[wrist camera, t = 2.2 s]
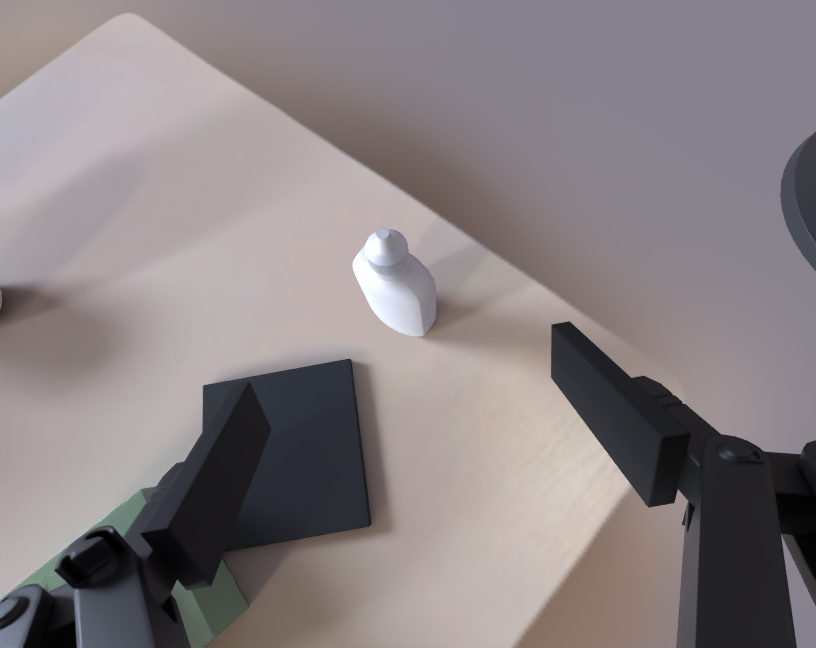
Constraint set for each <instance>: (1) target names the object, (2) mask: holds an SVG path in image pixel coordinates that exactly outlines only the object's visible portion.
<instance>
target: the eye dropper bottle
mask: <svg viewBox="0 0 816 648" xmlns="http://www.w3.org/2000/svg"><path fill="white" fill-rule="evenodd" d="M353 270H354V273H355V275H356V277H357V280H358V282H359V284H360V286H361V288H362V290H363V292H364V294H365V296H366V298H367V300H368V302H369V304H370V306H371V308H372V310H373V311H374V312H375V314H376V315H377V316H378V317H379V318H380V319H381V320H382V321H383V322H384V323H385V324H387V325H388V326H389V327H391V328H393V329H394V330H396V331H398V332H401V333H403V334H407V335H410V336H415V337H421V336H424V335H425V334H427V332H428V331H429V329H430V328H431V326H432V325H433V323H434V322H435V319H436V287H435V282H434V279H433V277H432V275H431V274H430V273H429V271H428V270H427V269H426V267H425V266H424V265H423V264H422V263H421V262H420V261H419V260H418V259H417V258H415V257H414V256H413V255H411V254H410V253H409V251H408V244H407V241H406V239H405V238H404V236H403V235H402V234H401V233H400V232H398V231H396V230H392V229H386V228H379V229H378V230H377V231H376V232H375V233H373V234H372V235H371V236H370V237H369V238H368V240H367V242H366V245H365V246H364V247H363V248H362V250H361V251H360V252H359V253H358V255H357V256H356V258H355V259H354V262H353Z"/></svg>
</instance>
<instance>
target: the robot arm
mask: <svg viewBox="0 0 816 648" xmlns="http://www.w3.org/2000/svg"><path fill="white" fill-rule="evenodd" d="M551 378H552V379H553V381H554V382H555V383H556V385H557V386H558V387H559V389H560V390H561V391H562V393H563V394H564V395H565V397H566V398H567V399H568V401H569V402H570V403H571V405H572V406H573V407H574V409H575V410H576V411H577V413H578V414H579V415H580V417H581V418H582V419H583V421H584V422H585V423H586V425H587V426H588V427H589V429H590V430H591V431H592V433H593V434H594V435H595V437H596V438H597V439H598V441H599V442H600V443H601V445H602V446H603V447H604V449H605V450H606V451H607V453H608V454H609V456H610V457H611V458H612V460H613V461H614V462H615V464H616V465H617V466H618V468H619V469H620V470H621V472H622V473H623V474H624V476H625V477H626V478H627V480H628V481H629V482H630V484H631V485H632V486H633V488H634V489H635V490H636V492H637V493H638V494H639V496H640V497H641V498H642V500H643V501H644V502H645V504H646V505H647V506H648V507H654V506H660V505H665V504H671V503H674V501H675V498H676V494H677V490H678V489H679V490H680V492H681V493H682V494H683V495H684V496H685V497H686V499H687V500H688V504H687V507H686V511H685V515H684V519H683V522H682V525H684V526H685V534H684V548H683V549H684V550H683V562H682V575H681V589H680V603H679V618H678V632H677V645H676V648H797V645H796V639H795V631H794V624H793V617H792V611H791V603H790V596H789V589H788V582H787V575H786V567H785V561H784V553H783V547H782V539H781V535H782V537H783V539H784V541H785V543H786V545H787V547H788V549H789V551H790V553H791V555H792V558H793V560H794V562H795V564H796V566H797V568H798V570H799V572H800V574H801V576H802V578H803V581H804V583H805V585H806V587H807V589H808V591H809V593H810V595H811V597H812V599H813V601H814V604H815V606H816V441H812V442H809V443H807V444H806V445H805V447H804V449H803V450H802V453H801V454H788V453H773V452H764V451H762V450H761V449H760V448H759V447H757V446H756V445H754V444H752V443H750V442H749V441H747V440H744V439H741V438H738V437H735V436H729V435H721V434H720V433H719V432H718V431H717V430H715V429H714V428H713V427H711V425H709V424H708V423H707V422H706V421H705V420H703V419H702V418H701V417H700V416H699V415H697V414H696V413H695V412H694V411H693V410H692V409H690V408H689V407H688V406H687V405H686V404H683V403H682V401H681V400H680V399H678V398H677V397H676V396H675V395H674V396H673V395H672V393H671V392H670V391H669V390H668V389H666V388H665V387H664V386H663V385H662V384H661V383H659V382H656V381H654V380H652V379H650V378H648V377H646V376H640V377H635V378H631V377H630V376H629V375H628V374H626V373H625V372H624V371H623V370H622V369H621V368H620V367H619V366H618V365H617V364H616V363H614V362H613V361H612V360H611V359H610V358H609V357H608V356H607V355H606V354H605V353H603V352H602V351H601V350H600V349H599V348H598V347H597V346H596V345H595V344H594V343H593V342H591V341H590V340H589V339H588V338H587V337H586V336H585V335H584V334H583V333H582V332H581V331H579V330H578V329H577V328H576V327H575V326H574V325H573V324H572V323H571V322H570V321H569V322H564V323H558V324H553V325H552V343H551ZM271 430H272V429H271V427H270V425H269V422H268V420H267V418H266V416H265V414H264V412H263V409H262V407H261V405H260V403H259V401H258V398H257V396H256V394H255V392H254V390H253V387H252V385H251V383H250V381H249V382H244V383H239V384H233V385H232V386H231V388H230V389H229V391H228V392H227V394H226V396H225V397H224V399H223V400H222V402H221V404H220V405H219V407H218V408H217V410H216V412H215V413H214V415H213V416H212V418H211V420H210V421H209V423H208V424H207V426H206V428H205V429H204V431H203V432H202V434H201V436H200V437H199V439H198V440H197V442H196V444H195V445H194V447H193V448H192V450H191V452H190V453H189V455H188V456H187V458H186V460H185V461H184V462H180V463H176V464H175V465H174V466H173V467H172V468H171V469H170V470H169V471H168V472H167V473H166V474H165V475H164V476H163V477H162V479H161V480H160V482H159V483H158V485H157V486H156V488H155V489H154V490H155V491H154V492H152V494H151V495H150V497H149V498H148V500H147V503H146V504H145V505H144V506H143V508H142V509H141V511H140V512H139V514H138V515H137V517H136V518H135V520H134V521H133V523H132V524H131V526H130V527H129V529H128V530H127V532H126V533H125V535H124V536H123V537H122V536H121V535H120V534H119V533H118V531H117V530H116V529H115V528H114V527H113V526H109V525H105V526H101V527H97V528H95V529H93V530H91V531H89V532H87V533H85V534H84V535H82V536H81V537H79V538H78V539H77V540H75V541H74V542H73V543H72V544H71V545H70V546H69V547H68V548H67V549H66V550H65V551H64V552H63V553H62V555H61V556H60V557H59V559H58V560H57V562H56V565H55V568H54V571H55V572H56V573H57V574H58V575H59V576H60V577H61V578H63V579H64V580H65V581H66V582H67V583H66V584H64V585H62V586H60V587H57V588H55V589H53V590H51V591H49V592H47V591H46V590H45V589H44V588H42V587H41V586H40V585H39V584H28V585H25V586H23V587H20V588H18V589H16V590H15V591H13V592H12V593H10V594H8V595H7V596H5V597H4V598H3V599H1V600H0V648H191V646H190V643H189V640H188V636H187V633H186V630H185V627H184V624H183V621H182V618H181V615H180V611H179V608H178V605H177V602H176V599H175V598H174V597H173V595H172V594H171V592H172V589H173V587H174V585H175V583H176V581H177V580H178V581H179V582H180V583H181V585H182V586H183V587H184V588H185V590H186V591H187V590H192V589H198V588H203V587H209V586H212V583H213V580H214V578H215V575H216V573H217V570H218V567H219V565H220V562H221V560H222V557H223V554H224V552H225V549H226V547H227V544H228V541H229V539H230V536H231V534H232V531H233V528H234V526H235V523H236V521H237V518H238V515H239V513H240V510H241V508H242V505H243V503H244V500H245V497H246V495H247V492H248V490H249V487H250V484H251V482H252V479H253V477H254V474H255V471H256V469H257V466H258V464H259V461H260V458H261V456H262V453H263V451H264V448H265V445H266V443H267V440H268V438H269V435H270V432H271Z"/></svg>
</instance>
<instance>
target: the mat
mask: <svg viewBox="0 0 816 648" xmlns="http://www.w3.org/2000/svg"><path fill="white" fill-rule="evenodd" d="M249 381H250V383H251V385H252V387H253V390H254V392H255V394H256V396H257V398H258V401H259V403H260V405H261V407H262V409H263V412H264V414H265V416H266V418H267V420H268V422H269V425H270V427H271V429H272V430H271V432H270V435H269V438H268V440H267V443H266V445H265V448H264V451H263V453H262V456H261V458H260V461H259V464H258V466H257V469H256V471H255V474H254V477H253V479H252V482H251V484H250V487H249V490H248V492H247V495H246V497H245V500H244V503H243V505H242V508H241V510H240V513H239V515H238V518H237V521H236V523H235V526H234V528H233V531H232V534H231V536H230V539H229V541H228V544H227V547H226V549H225V552H226V551H232V550H238V549H243V548H249V547H255V546H261V545H266V544H272V543H278V542H283V541H289V540H295V539H301V538H306V537H312V536H318V535H323V534H329V533H335V532H341V531H346V530H352V529H358V528H363V527H369V526H370V525H371V519H370V511H369V503H368V494H367V486H366V478H365V470H364V461H363V453H362V445H361V436H360V428H359V420H358V412H357V403H356V395H355V387H354V378H353V370H352V362H351V360H350V359H345V360H340V361H334V362H329V363H323V364H318V365H313V366H307V367H302V368H296V369H291V370H285V371H280V372H274V373H269V374H264V375H258V376H253V377H247V378H242V379H236V380H231V381H225V382H220V383H215V384H209V385H204V386H203V431H204V429H205V428H206V426H207V424H208V423H209V421H210V420H211V418H212V416H213V415H214V413H215V412H216V410H217V408H218V407H219V405H220V404H221V402H222V400H223V399H224V397H225V396H226V394H227V392H228V391H229V389H230V388H231V386H232V385H233V384H239V383H244V382H249Z"/></svg>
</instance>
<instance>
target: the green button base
mask: <svg viewBox="0 0 816 648" xmlns="http://www.w3.org/2000/svg"><path fill="white" fill-rule="evenodd" d="M155 488H156V487H150V488H144V489H140V490H139V491H137V492H136V493H135V494H134V495H132V496H131V497H130V498H129V499H127V500H126V501H125V502H123V503H122V504H121V505H120V506H118V507H117V508H116V509H115V510H113V511H112V512H111V513H109V514H108V515H107V516H106V517H104V518H103V519H102V520H101V521H99V522H98V523H97V524H96V525H94V526H93V527H92V528H90V529H89V530H88V531H87V532H89V531H91V530H93V529H95V528H97V527H101V526H105V525H109V526H113V527H114V528H115V529H116V530H117V531H118V533H119V534H120V535H121V536H122V537H123V536H124V535H125V533H126V532H127V530H128V529H129V527H130V526H131V524H132V523H133V521H134V520H135V518H136V517H137V515H138V514H139V512H140V511H141V509H142V508H143V506H144V505H145V504H146V503H147V500H148V498H149V497H150V495H151V494H152V492H154V491H155V490H154V489H155ZM87 532H85V533H87ZM85 533H84V534H85ZM84 534H83V535H84ZM80 537H81V536H80ZM71 544H72V543H71ZM71 544H70V545H71ZM70 545H69V546H70ZM69 546H68V547H69ZM68 547H66V548H65V549H64V550H63V551H61V552H60V553H59V554H57V555H56V556H55V557H54V558H52V559H51V560H50V561H49V562H47V563H46V564H45V565H44V566H42V567H41V568H40V569H38V570H37V571H36V572H35V573H33V574H32V575H31V576H30V577H28V578H27V579H26V580H25V581H23V582H22V583H21V584H19V585H18V586H17V587H16V588H14V589H13V590H12V591H11V592H9V593H8V594H10V593H12V592H13V591H15V590H16V589H18V588H20V587H23V586H25V585H28V584H39V585H40V586H41V587H42V588H44V589H45V590H46V591H47V592H49V591H51V590H53V589H55V588H57V587H60V586H62V585H64V584H66V583H67V582H66V581H65V580H64V579H63V578H61V577H60V576H59V575H58V574H57V573H56V572H55V571H54V568H55V565H56V562H57V560H58V559H59V557H60V556H61V555H62V553H63V552H64V551H65V550H66V549H67V548H68ZM8 594H7V595H8ZM171 594H172V595H173V597H174V598H175V599H176V602H177V605H178V608H179V611H180V615H181V618H182V621H183V624H184V627H185V630H186V633H187V636H188V640H189V643H190V646H191V648H203V647H204V646H206V645H207V644H208V643H209V642H210V641H211V640H212V639H213V638H215V637H216V636H217V635H218V634H219V633H220V632H221V631H222V630H224V629H225V628H226V627H227V626H228V625H229V624H230V623H232V622H233V621H234V620H235V619H236V618H237V617H238V616H239V615H241V614H242V613H243V612H244V611H245V610H246V609H247V608H248V607H249V606H248V604H247V602H246V601H245V599H244V597H243V595H242V593H241V591H240V590H239V588H238V586H237V584H236V582H235V580H234V578H233V577H232V575H231V573H230V571H229V569H228V567H227V566H226V564H225V562H224V560H223V558H222V560H221V562H220V565H219V567H218V570H217V573H216V575H215V578H214V580H213V583H212V586H209V587H203V588H198V589H192V590H187V591H186V590H185V588H184V587H183V586H182V585H181V583H180V582H179V581H178V580H177V581H176V583H175V585H174V587H173V589H172V592H171ZM7 595H5V596H7ZM5 596H4V597H5ZM4 597H3V598H4ZM3 598H2V599H3ZM0 600H1V599H0Z"/></svg>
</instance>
